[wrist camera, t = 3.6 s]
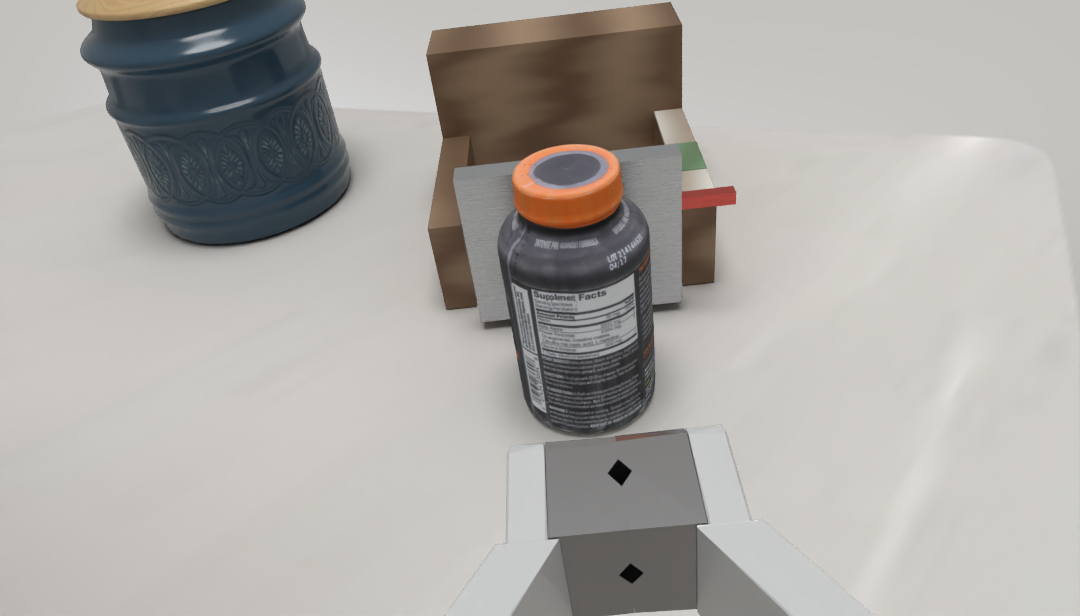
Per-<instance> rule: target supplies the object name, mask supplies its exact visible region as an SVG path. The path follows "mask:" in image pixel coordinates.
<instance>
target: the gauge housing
mask: <svg viewBox="0 0 1080 616" xmlns="http://www.w3.org/2000/svg"><path fill="white" fill-rule="evenodd" d="M426 56H427V61H428V66H429V71H430V76H431V81H432V85H433V91H434V96H435V101H436V106H437V111H438V116H439V121H440V126H441V131H442V136H443V142H442V148H441V154H440V160H439V165H438V171H437V177H436V183H435V189H434V195H433V201H432V207H431V213H430V219H429V225H428V232H429V236H430V241H431V245H432V249H433V254H434V258H435V262H436V266H437V271H438V275H439V279H440V284H441V288H442V292H443V297H444V301H445V305H446V309H456V308H466V307H476V306H477V298H476V293H475V288H474V283H473V278H472V273H471V268H470V263H469V258H468V253H467V248H466V243H465V238H464V233H463V228H462V223H461V218H460V213H459V208H458V203H457V198H456V193H455V188H454V184H453V177H454V169H455V168H459V167H468V166H477V165H486V164H495V163H504V162H513V161H522V160H523V159H525V158H526V157H528V156H530V155H531V154H533V153H536V152H538V151H541V150H543V149H547V148H550V147H555V146H560V145H568V144H583V145H592V146H596V147H600V148H603V149H605V150H607V151H613V150H622V149H631V148H640V147H649V146H658V145H667V144H676V143H677V144H678V147H679V149H680V152H681V155H682V192H683V191H692V190H701V189H711V188H714V186H713V184H712V181H711V179H710V176H709V174H708V171H707V167H706V165H705V162H704V160H703V157H702V155H701V152H700V150H699V147H698V145H697V142H696V141H695V139H694V137H693V134H692V132H691V129H690V127H689V124H688V122H687V120H686V117H685V115H684V112H683V110H682V24H681V22H680V20H679V18H678V16H677V14H676V12H675V10H674V8H673V6H672V4H671V2H668V3H659V4H651V5H643V6H635V7H626V8H618V9H609V10H601V11H593V12H584V13H576V14H568V15H560V16H551V17H544V18H543V17H542V18H535V19H526V20H517V21H509V22H501V23H493V24H485V25H476V26H467V27H459V28H451V29H442V30H435V31H432V34H431V38H430V42H429V46H428V50H427V54H426ZM715 236H716V206H713V207H703V208H694V209H685V210H682V284H683V285H691V284H701V283H711V282H714V267H715Z"/></svg>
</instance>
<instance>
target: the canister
mask: <svg viewBox="0 0 1080 616" xmlns="http://www.w3.org/2000/svg"><path fill="white" fill-rule="evenodd" d="M77 9H78V11H79V12H80V14H82V15H83V16H85V17H87V18H90V19H92V31H91V32H90V33H89V34H88V36H87V37H86V38H85V40H84V41H83V43H82V45H81V49H80V52H81V56H82V58H83V59H84V60H85V61H86V62H87V63H88V64H90V65H92V66H93V67H95V68H97V69H99V70H100V72H101V74H102V76H103V79H104V82H105V84H106V87H107V90H108V93H109V95H108V98H107V101H106V109H107V111H108V113H109V115H110V116H111V117H112V118H113V119H115V120H116V122H117V124H118V126H119V128H120V130H121V132H122V135H123V137H124V139H125V141H126V143H127V145H128V147H129V149H130V152H131V154H132V156H133V158H134V160H135V162H136V164H137V166H138V168H139V171H140V173H141V175H142V177H143V179H144V181H145V183H146V185H147V188H148V196H149V199H150V201H151V202H152V204H153V206H154V209H155V211H156V213H157V214H158V216H159V217H160V218H161V219H162V220H164V221H165V223H166V225H167V226H168V228H169V229H170V231H171V232H172V233H174V234H175V235H177V236H178V237H181V238H183V239H186V240H189V241H193V242H199V243H206V244H228V243H238V242H245V241H250V240H255V239H260V238H264V237H267V236H271V235H274V234H277V233H280V232H283V231H286V230H288V229H291V228H293V227H296V226H298V225H300V224H302V223H304V222H306V221H308V220H310V219H312V218H314V217H315V216H317V215H319V214H320V213H322V212H323V211H324V210H326V209H327V208H328V207H330V206H331V205H332V204H333V203H334V202H335V201H336V200H337V199H338V198H339V197H340V196H341V195H342V194H343V192H344V191H345V189H346V187H347V185H348V183H349V178H350V174H349V168H348V164H349V156H348V152H347V150H346V145H345V141H344V139H343V137H342V136H341V135H340V133H339V130H338V127H337V123H336V120H335V116H334V113H333V109H332V106H331V103H330V99H329V96H328V92H327V89H326V85H325V82H324V79H323V75H322V71H321V68H320V65H321V57H320V54H319V52H318V51H317V50H316V49H315V48H314V47H313V46H311V45H310V44H309V43H308V41H307V38H306V35H305V33H304V30H303V27H302V24H301V19H302V17H303V15H304V13H305V9H306V5H305V2H304V0H78V2H77Z"/></svg>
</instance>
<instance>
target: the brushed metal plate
mask: <svg viewBox="0 0 1080 616" xmlns="http://www.w3.org/2000/svg"><path fill="white" fill-rule="evenodd" d="M609 152H611V153H612V154H614V155H615V157H616V158H617V159H618V162H619V164H620V169H621V179H622V184H623V196H625V197H627V198H628V199H630V200H631V201H632V202H633V203H635V204H636V205H637V206H638V207H639V209H640V210H641V211H642V212H643V214H644V216H645V218H646V220H647V223H648V227H649V232H650V258H651V282H652V303H653V305H656V304H666V303H675V302H682V210H685V209H694V208H703V207H713V206H722V205H731V204H736V191H735V189H734V187H733V186H729V187H720V188H711V189H701V190H692V191H683V192H682V155H681V152H680V149H679V147H678V144H677V143H676V144H667V145H658V146H649V147H640V148H631V149H622V150H613V151H609ZM520 162H521V161H513V162H504V163H495V164H486V165H477V166H468V167H459V168H455V169H454V177H453V184H454V188H455V193H456V198H457V203H458V208H459V213H460V218H461V223H462V228H463V233H464V238H465V243H466V248H467V253H468V258H469V263H470V268H471V273H472V278H473V283H474V288H475V293H476V298H477V303H478V308H479V313H480V318H481V322H487V321H497V320H507V319H510V316H509V311H508V306H507V300H506V294H505V288H504V283H503V279H502V272H501V267H500V262H499V256H498V248H497V241H498V235H499V231H500V229H501V226H502V224H503V223H504V221H505V219H506V218H507V216H508V215H509V214H510V213H511V212H512V211H513V210H514V209H515V208H516V207H515V204H514V189H513V183H512V175H513V171H514V169H515V168H516V166H517V165H518V164H519V163H520Z"/></svg>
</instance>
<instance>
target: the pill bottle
mask: <svg viewBox="0 0 1080 616" xmlns="http://www.w3.org/2000/svg"><path fill="white" fill-rule="evenodd" d="M512 183H513V189H514V204H515V207H516V208H515V209H514V210H513V211H512V212H511V213H510V214H509V215H508V216H507V218H506V219H505V221H504V223H503V224H502V226H501V229H500V231H499V235H498V241H497V248H498V256H499V262H500V267H501V272H502V279H503V283H504V288H505V294H506V300H507V306H508V311H509V316H510V322H511V326H512V332H513V338H514V343H515V348H516V353H517V360H518V365H519V371H520V377H521V381H522V387H523V392H524V397H525V400H526V402H527V404H528V406H529V408H530V410H531V411H532V412H533V413H534V414H535V415H536V417H537V418H539V419H540V420H541V421H543V422H545V423H546V424H548V425H549V426H552V427H554V428H557V429H560V430H564V431H568V432H574V433H597V432H604V431H607V430H610V429H614V428H617V427H619V426H621V425H623V424H626V423H627V422H629V421H631V420H632V419H634V418H635V417H636V416H638V415H639V414H640V413H641V412H642V411H643V410H644V409H645V408H646V406H647V404H648V402H649V401H650V399H651V397H652V395H653V392H654V385H655V354H654V324H653V303H652V282H651V258H650V232H649V227H648V223H647V220H646V218H645V216H644V214H643V212H642V211H641V210H640V209H639V207H638V206H637V205H636V204H635V203H633V202H632V201H631V200H630V199H628V198H627V197H625V196H623V184H622V179H621V169H620V164H619V162H618V159H617V158H616V157H615V155H614V154H612V153H611V152H609V151H607V150H605V149H603V148H600V147H596V146H592V145H583V144H568V145H560V146H555V147H550V148H547V149H543V150H541V151H538V152H536V153H533V154H531V155H530V156H528V157H526V158H525V159H523V160H522V161H521V162H520V163H519V164H518V165H517V166H516V168H515V169H514V171H513V175H512Z"/></svg>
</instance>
